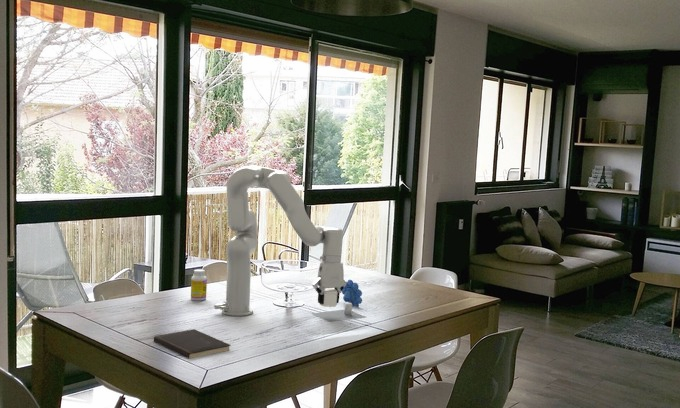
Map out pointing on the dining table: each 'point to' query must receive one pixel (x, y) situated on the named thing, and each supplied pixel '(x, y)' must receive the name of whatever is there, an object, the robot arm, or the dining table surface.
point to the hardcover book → (191, 343)
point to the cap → (330, 297)
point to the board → (339, 314)
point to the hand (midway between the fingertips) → (328, 302)
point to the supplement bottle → (198, 285)
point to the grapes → (352, 293)
